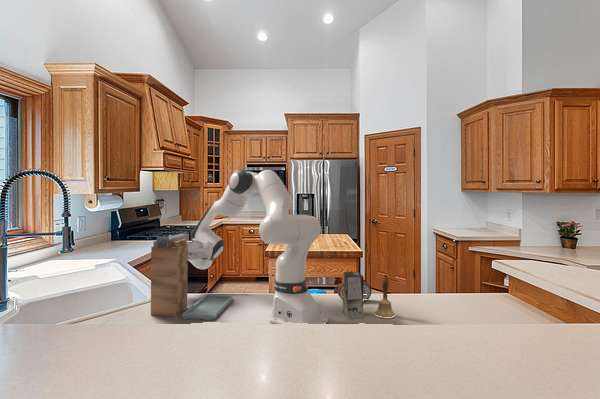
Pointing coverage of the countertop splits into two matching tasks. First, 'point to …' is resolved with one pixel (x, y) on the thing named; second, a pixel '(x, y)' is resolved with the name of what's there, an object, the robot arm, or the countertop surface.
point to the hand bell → (385, 301)
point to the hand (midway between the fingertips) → (183, 240)
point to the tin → (365, 291)
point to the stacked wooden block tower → (169, 279)
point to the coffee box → (353, 294)
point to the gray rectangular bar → (170, 240)
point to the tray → (208, 307)
